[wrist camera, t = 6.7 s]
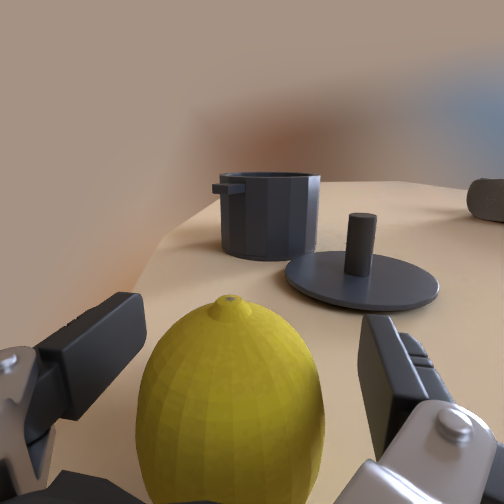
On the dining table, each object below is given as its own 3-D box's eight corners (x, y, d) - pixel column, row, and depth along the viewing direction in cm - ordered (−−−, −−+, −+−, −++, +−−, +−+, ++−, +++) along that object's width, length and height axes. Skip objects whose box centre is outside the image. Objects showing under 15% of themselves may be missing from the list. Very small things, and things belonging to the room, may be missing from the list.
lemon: (224, 700, 7) (209, 416, 4) (122, 506, 11) (84, 296, 8) (347, 508, 10) (375, 298, 8) (239, 415, 14) (237, 253, 12)
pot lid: (257, 287, 28) (257, 217, 26) (322, 252, 38) (326, 200, 36) (418, 339, 20) (436, 244, 18) (447, 278, 30) (461, 212, 28)
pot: (186, 252, 38) (181, 175, 36) (269, 227, 52) (270, 170, 49) (266, 276, 31) (268, 180, 28) (339, 239, 44) (345, 172, 41)
